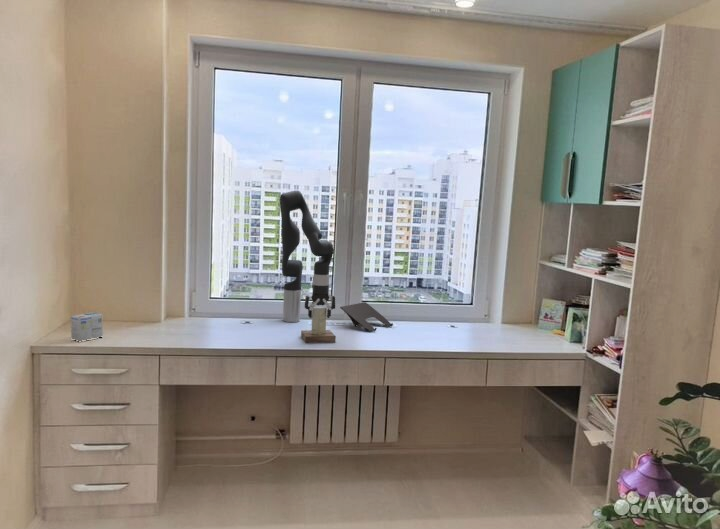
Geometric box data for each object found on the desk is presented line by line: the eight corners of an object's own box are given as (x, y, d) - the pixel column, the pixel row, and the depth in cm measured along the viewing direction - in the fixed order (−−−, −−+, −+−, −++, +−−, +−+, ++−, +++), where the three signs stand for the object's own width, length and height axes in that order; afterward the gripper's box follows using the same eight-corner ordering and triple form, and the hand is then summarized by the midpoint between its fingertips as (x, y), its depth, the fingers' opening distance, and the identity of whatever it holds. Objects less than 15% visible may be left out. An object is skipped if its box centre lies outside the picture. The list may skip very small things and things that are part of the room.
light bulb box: (93, 335, 228) (93, 311, 227) (103, 338, 225) (103, 313, 223) (70, 340, 218) (70, 315, 217) (80, 342, 215) (80, 317, 214)
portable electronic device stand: (365, 343, 262) (372, 329, 258) (334, 317, 272) (341, 303, 269) (389, 336, 280) (396, 322, 277) (360, 312, 291) (366, 298, 288)
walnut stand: (300, 336, 245) (301, 330, 245) (329, 336, 249) (329, 330, 249) (305, 343, 234) (305, 336, 233) (335, 342, 238) (335, 336, 237)
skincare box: (318, 335, 237) (320, 309, 236) (310, 333, 239) (312, 308, 238) (326, 332, 243) (327, 307, 242) (318, 331, 245) (319, 306, 244)
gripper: (307, 284, 233) (306, 319, 235) (337, 285, 237) (336, 319, 239) (304, 282, 240) (303, 316, 242) (333, 282, 244) (332, 315, 246)
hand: (319, 317), depth 240 cm, fingers open, 8 cm apart
